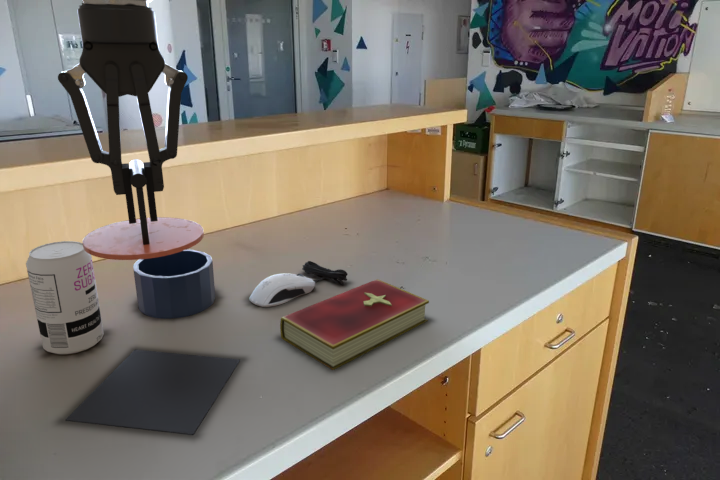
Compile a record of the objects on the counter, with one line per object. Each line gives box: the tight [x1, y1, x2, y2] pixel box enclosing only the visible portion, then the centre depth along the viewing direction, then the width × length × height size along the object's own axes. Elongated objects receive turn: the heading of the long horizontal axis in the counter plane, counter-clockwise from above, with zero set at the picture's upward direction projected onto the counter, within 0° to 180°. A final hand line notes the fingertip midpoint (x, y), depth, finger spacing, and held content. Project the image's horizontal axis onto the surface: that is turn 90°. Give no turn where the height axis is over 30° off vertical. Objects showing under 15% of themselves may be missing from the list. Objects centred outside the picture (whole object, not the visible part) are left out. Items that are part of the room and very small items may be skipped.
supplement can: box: [25, 240, 105, 355], centre depth 80 cm, size 8×8×15 cm
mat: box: [65, 349, 241, 436], centre depth 72 cm, size 16×16×1 cm
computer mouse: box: [248, 260, 348, 308], centre depth 100 cm, size 10×18×4 cm, turn 136°
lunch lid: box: [81, 158, 205, 261], centre depth 65 cm, size 14×14×10 cm
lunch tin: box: [132, 248, 216, 320], centre depth 94 cm, size 13×13×8 cm
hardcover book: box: [279, 278, 430, 371], centre depth 87 cm, size 12×21×4 cm, turn 135°
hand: (143, 218), depth 65 cm, fingers closed on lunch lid, 2 cm apart
